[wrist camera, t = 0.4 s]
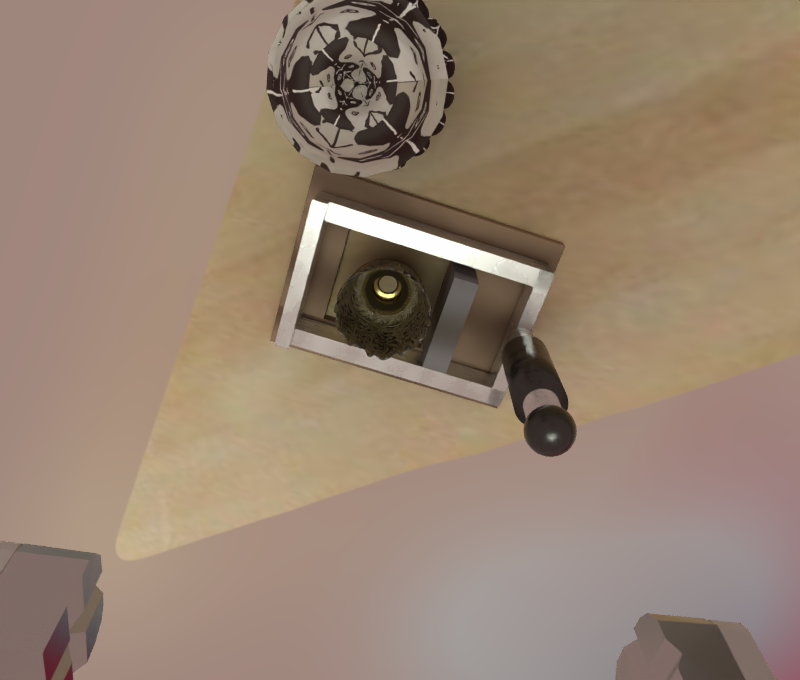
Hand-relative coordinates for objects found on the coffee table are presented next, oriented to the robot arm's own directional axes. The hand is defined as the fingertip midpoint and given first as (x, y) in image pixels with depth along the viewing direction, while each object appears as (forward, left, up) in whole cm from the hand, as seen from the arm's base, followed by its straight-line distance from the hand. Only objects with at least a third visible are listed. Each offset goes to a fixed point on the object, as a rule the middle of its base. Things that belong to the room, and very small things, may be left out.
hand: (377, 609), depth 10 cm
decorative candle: (-6, -5, -48) cm, 48 cm away
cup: (+10, +1, -48) cm, 49 cm away
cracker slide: (+10, +3, -46) cm, 47 cm away
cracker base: (+10, +3, -47) cm, 48 cm away
